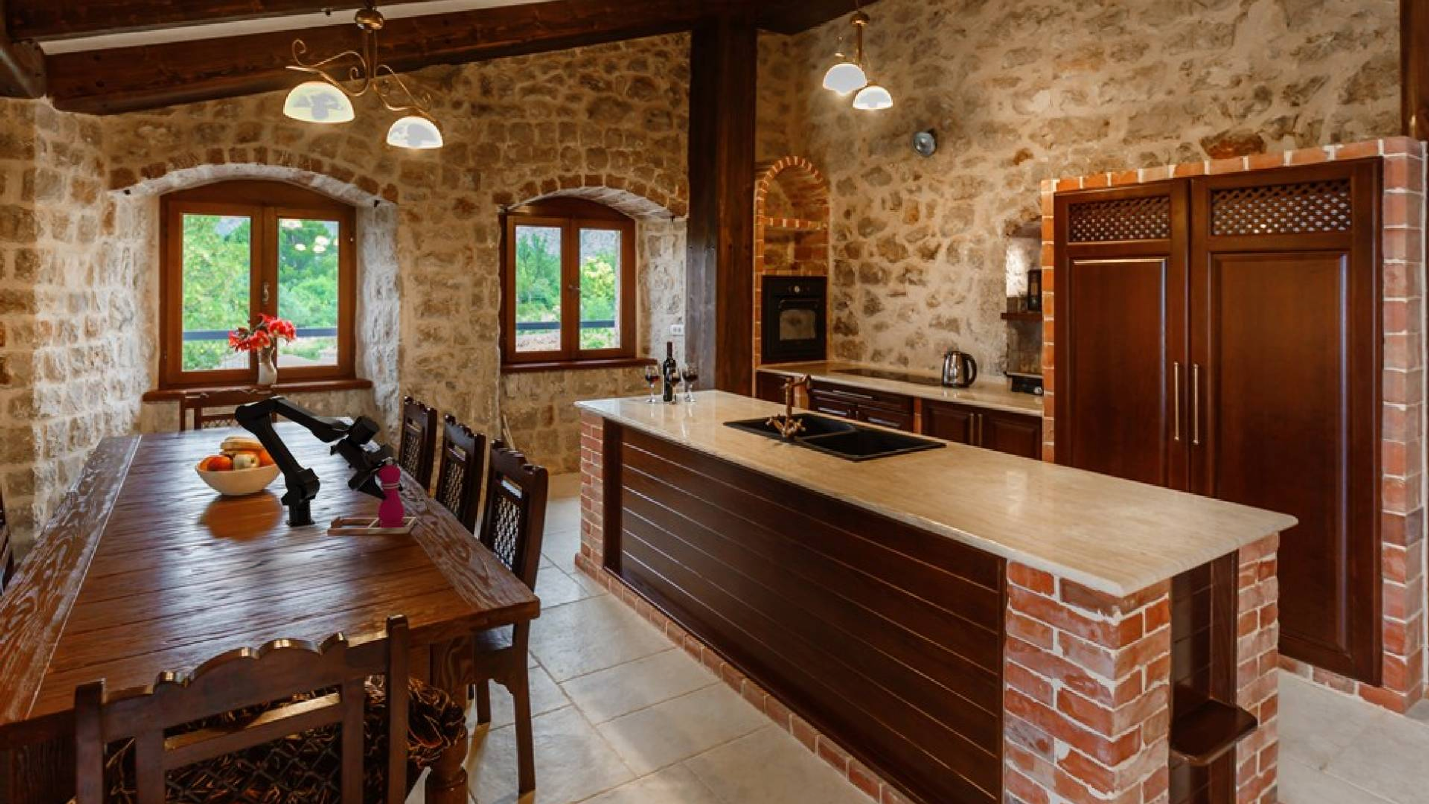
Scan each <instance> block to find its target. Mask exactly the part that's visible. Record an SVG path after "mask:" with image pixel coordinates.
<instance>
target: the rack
mask: <svg viewBox="0 0 1429 804" xmlns="http://www.w3.org/2000/svg"><path fill="white" fill-rule="evenodd" d="M401 520H403V524H406V525H405V526H404V527H397V528H380V527H378V525H379V526H380V523H381V522H382V520H380V519H379V517H345V518H343V517H341V515H337V516H336V517H334V518H333V519H332V520H331V521H330V527H328V528H327V531H326V532H327V535H328V536H329V535H330V536H331V535H333V536H335V535H384V534H386V535H387V534H394V535H395V534H408V533H409V532H410V531H411V530H412V528H413V527H414V526H415V525H416V523H417V522H418V520H417V516H405V517H403V518H402V519H401ZM360 524H361V525H363V524H365V525H367V524H368V526H367V527H353V528H352V527H349V528H347V527H346V528H345V527H344V528H340V527H342V525H360ZM414 524H415V525H414Z"/></svg>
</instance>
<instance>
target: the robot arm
mask: <svg viewBox="0 0 1429 804" xmlns="http://www.w3.org/2000/svg"><path fill="white" fill-rule="evenodd" d="M273 413H276V414H278V415H279V416H282V417H283V418H285V419H287V420H290V421H292V422H293V423H296V424H298V425H300V426H302V427H304V428H306V429H307V430H308V431H310V432H311V434H312V435H313V436H314V438H315V437H316V439H318V440H320V442H322V443H325V444H330V443H333V442H337V441H338V442H337V443H336V444H333V445H330V450H329V455H330V456H334V455H337V454H339V455H340V456H341V457H342V458H343V459H344V460H345V461H346V462H347V463H348V464H349V465H347V468H349V470H352V469H354V471H355V473H354V474H353V476H352V477H351V478H350V479H348V481H347V487H348V488H349V489H350V490H351V492H353V491H356V492H360V493H362V494H365V495H369V496H371V497H375V498H378V499H380V500H382V499H383V500H386V499H387V496H386V495H385V493H384V492H383V489H382V488H381V486H379V484H378V483H377V482H376V478H378V479H379V476H378V473H379V470H380V469H381V468H382V467H383V466H386V461H387V460H391V461H392V462H393V464H392V465H395V466H397V467H398V468H399V466H398V464H399V462H398V461H397V460H396V458H393V457H394V456H395V455H394V447H392V446H391V445H390V444H388V443H384V444H382V445H380V446H379V449H378V450H376V451H373V450H370V449H369V450H366V449H365V448H364V447H363V446H367V445H368V444H369V443H370V442H371V441H372V440H373V439H374V438H375V436H376V435H378V433H380V432H381V427H380V425H379V424H378V422H377V421H375V420H373V419H371V418H370V417H366V416H365V415H364V414H362V415H359V416H358V417H357V418H355V419H356V420H355V421H354V422H353V423H352V424H346V423H345V422H343V420H340V419H337V418H333V417H329V416H322V415H318V414H317V413H314V412H312V411H310V410H309V409H306V408H304V407H303V406H300V405H299V404H296V403H294V402H292V401H290V400H288V399H286V397H284V396H281V395H277V396H276V395H275V396H272V397H271V396H270V397H268V398H266V399H265V400H262V401H254V402H249V403H243V404H240V405H238V406H237V407H236V408H235V411H234V415H233V416H234V417H233V418H234V419H235V421H236V422H237V423H238V424H239V425H240V426H241V427H242V428H243V429H244V430H246V431H248V432H249V433H251V434H253V435H254V436H255V437H256V438H257V440H258V441H259V443H260V444H261V445H262V447H263V448H264V450H265V451H266V452H267V454H268V455H269V457H270V458H271V459H272V460H273V462H274V463H275V465H276V466H277V468H278V469H279V471H281V472H280V473H282V474H283V477H284V478H283V479H284V485H285V488H286V490H287V491H286V492H285V493H284V494H283V495H282V497H280V498H279V499H280V502H281V505H282V506H283V507H284V506H285V507H288V509H287V510H288V519H286V520H285V523H286V524H287V525H288V526H289V527H291V528H293V527H300V526H306V525H311V524H315V523H316V521H315V520H314V519H313V518H312V513H311V512H312V509H311V501H312V500H315V499H317V498H316V497H317V494H318V493H319V492H320V489H321V482H320V480H319V479H320V477H319V476H318V475H317V474H316V473H315V471H314V469H313V468H312V467H308V468H304V467H302V466H301V465H300V464H299V462H298V460H297V459H296V458H295V457H294V455H293V453H291V451H290V450H289V448H288V447H287V445H286V443H284V441H283V439H282V438H281V437H280V435H279V434H278V432H276V430H275V429H274V427H273V426H272V415H271V414H273ZM345 437H346V438H345ZM362 445H363V446H362ZM379 480H380V479H379ZM398 481H399V482H400V483H399V485H400V486H399V487H398V492H400V493H402V492H403V491H404V487H403V486H402V484H401V481H400V479H399V480H398ZM380 482H382V481H381V480H380Z"/></svg>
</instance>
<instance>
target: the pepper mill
mask: <svg viewBox="0 0 1429 804" xmlns="http://www.w3.org/2000/svg"><path fill="white" fill-rule="evenodd" d="M386 460H387V459H386ZM392 464H393V462H392V461H391V460H387V461H386V466H383V467H382V468H381V469H380V470H379V473H378V476H379V478H378V479H379V480H381V481H380V488H381V489H382V491H383V492H384V493H385V495H386V496H387V499H386V500H383V499H381V502H380V504H379V506H378V510H377V518H379V519H380V520H382V522H381V523H380V524H379V528H397V527H405V526H404V525H405V523H403V520H401V519H402V518H403V517H404V516H405V514H406V513H405V507H404V504H403V502H402V500H401V498H400V496H399V491H398V487H399V486H400V485H399V483H401V481H400V478H401V476H402V471H401V469H400V467H399V466H398V467H397V466H395V465H392ZM398 480H399V481H400V482H399V481H398Z"/></svg>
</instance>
